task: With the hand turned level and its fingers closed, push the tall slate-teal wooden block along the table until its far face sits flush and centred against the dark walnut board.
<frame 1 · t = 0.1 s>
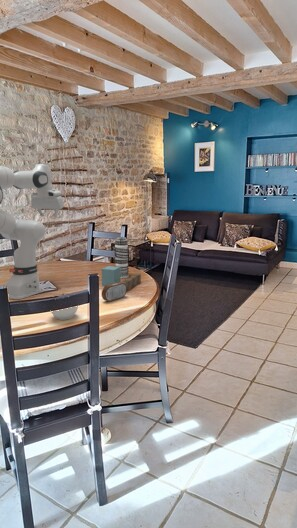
hand: (48, 216, 208), 39 cm above the table, tool pointing down, fingers open, 8 cm apart
decorative candle: (122, 276, 225), on the table
lidded bowl: (64, 317, 157), on the table
walnut board: (131, 286, 203), on the table
slate block: (111, 284, 207), on the table
oval wooden speaker: (115, 299, 181), on the table
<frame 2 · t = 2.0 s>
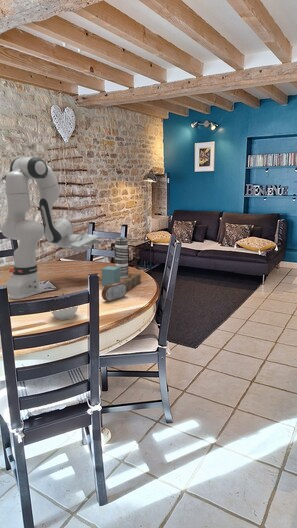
hand: (96, 244, 205), 23 cm above the table, tool horizontal, fingers open, 8 cm apart
nothing on the table moved.
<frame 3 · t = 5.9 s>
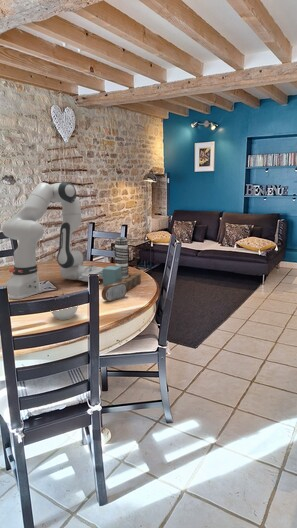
hand: (106, 275, 208), 5 cm above the table, tool horizontal, fingers closed, pressing on slate block
slate block: (112, 284, 207), on the table, touching gripper
everything else where it was.
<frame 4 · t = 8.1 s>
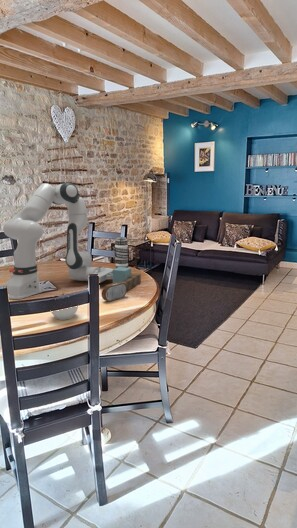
hand: (115, 276, 205), 5 cm above the table, tool horizontal, fingers closed
slate block: (122, 285, 205), on the table
everything else where it was.
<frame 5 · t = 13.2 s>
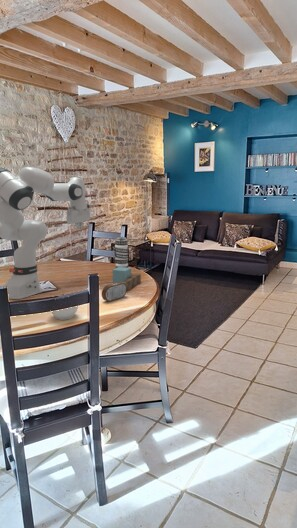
hand: (79, 230, 207), 31 cm above the table, tool pointing down, fingers closed
nothing on the table moved.
at the end: slate block 0.7 cm from the target spot on the table beside the walnut board, on the table; slate block tilted 0° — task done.
